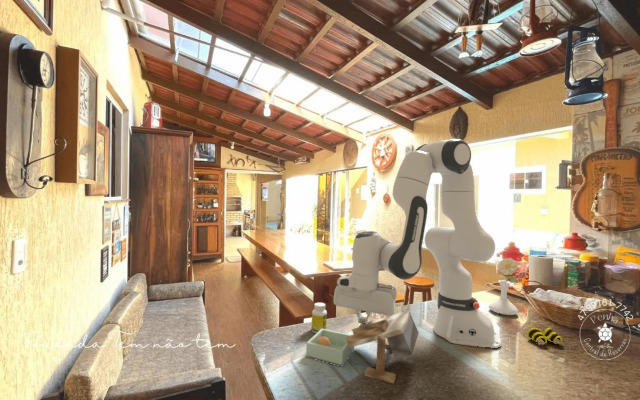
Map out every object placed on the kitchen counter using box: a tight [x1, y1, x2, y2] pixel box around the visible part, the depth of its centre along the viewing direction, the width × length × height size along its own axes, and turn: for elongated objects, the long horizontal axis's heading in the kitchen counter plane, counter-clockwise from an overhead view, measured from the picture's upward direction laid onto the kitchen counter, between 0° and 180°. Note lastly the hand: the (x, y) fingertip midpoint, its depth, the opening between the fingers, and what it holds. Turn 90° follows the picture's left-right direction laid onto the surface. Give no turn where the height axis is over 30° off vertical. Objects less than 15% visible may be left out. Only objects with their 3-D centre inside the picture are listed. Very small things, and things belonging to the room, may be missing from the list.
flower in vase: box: [488, 257, 519, 316], centre depth 140 cm, size 13×11×25 cm
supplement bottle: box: [310, 302, 328, 334], centre depth 116 cm, size 5×5×10 cm
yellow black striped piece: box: [526, 327, 563, 344], centre depth 113 cm, size 10×5×5 cm, turn 96°
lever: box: [346, 310, 419, 359], centre depth 97 cm, size 17×16×9 cm
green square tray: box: [305, 328, 355, 367], centre depth 100 cm, size 12×12×4 cm
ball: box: [317, 336, 330, 347], centre depth 101 cm, size 4×4×4 cm
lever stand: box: [364, 313, 397, 384], centre depth 97 cm, size 8×22×11 cm, turn 156°
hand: (363, 323), depth 104 cm, fingers closed
